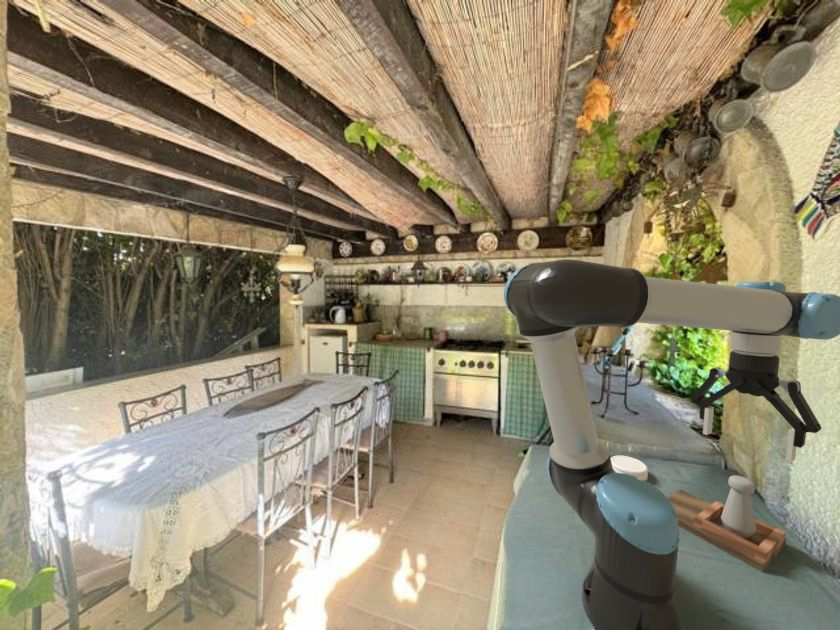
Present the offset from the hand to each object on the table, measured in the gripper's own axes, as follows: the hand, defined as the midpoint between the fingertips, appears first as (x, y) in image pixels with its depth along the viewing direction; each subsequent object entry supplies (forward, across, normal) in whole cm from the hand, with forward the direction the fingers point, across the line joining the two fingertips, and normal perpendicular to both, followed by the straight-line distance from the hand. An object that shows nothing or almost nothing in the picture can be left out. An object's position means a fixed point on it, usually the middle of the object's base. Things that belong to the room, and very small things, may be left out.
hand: (745, 445), depth 72 cm
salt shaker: (+21, 0, 0) cm, 21 cm away
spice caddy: (+23, +4, 0) cm, 23 cm away
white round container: (+23, +27, -5) cm, 36 cm away
